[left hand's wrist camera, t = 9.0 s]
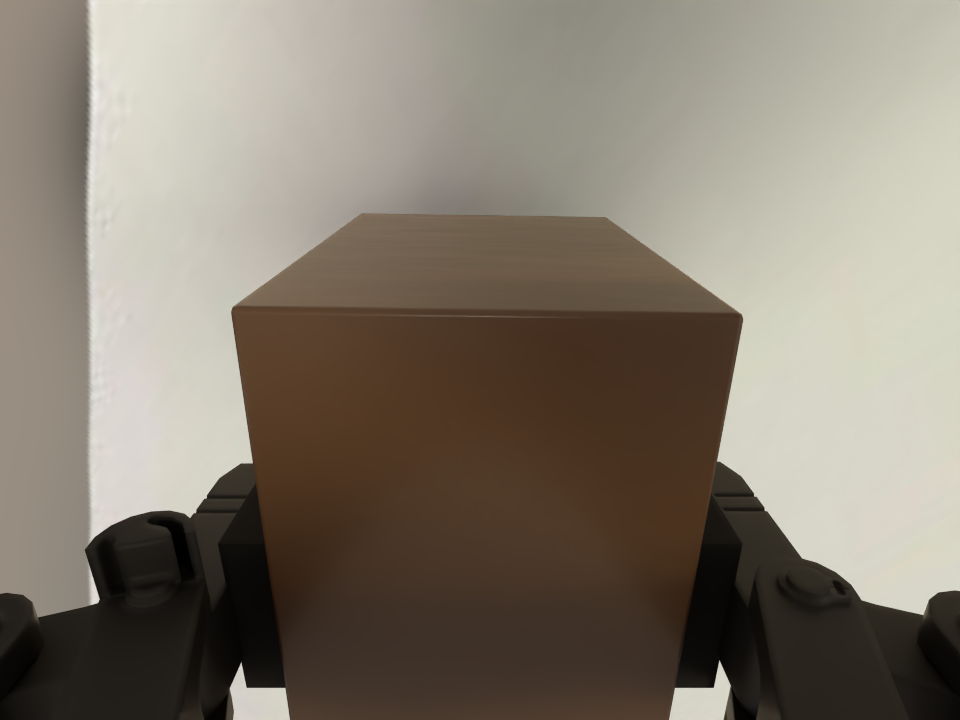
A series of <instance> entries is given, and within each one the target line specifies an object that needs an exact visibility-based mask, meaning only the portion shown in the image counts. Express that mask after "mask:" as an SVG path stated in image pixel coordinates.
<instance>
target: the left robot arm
mask: <svg viewBox="0 0 960 720" xmlns="http://www.w3.org/2000/svg"><path fill="white" fill-rule="evenodd" d="M85 552H86V555H87V559H88V562H89V565H90V568H91V572H92V575H93V578H94V582H95V585H96V588H97V591H98V595H99V598H100V600H99V602H98V603H97V604H94V605H90V606H87V607H83V608H78V609H74V610H70V611H65V612H61V613H56V614H52V615H47V616H43V617H37V614H36V611H35V608H34V606H33V603H32V602H31V601H30V600H29V599H27V598H26V597H25V596H24V595H18V594H11V593H3V594H0V720H233V714H234V710H233V703H232V697H231V693H230V686H231V684H232V682H233V680H234V677H235V675H236V673H237V671H238V668H239V666H240V664H241V662H242V667H243V671H244V676H245V681H246V686H247V688H286V687H285V680H284V674H283V667H282V660H281V653H280V646H279V639H278V632H277V625H276V618H275V611H274V604H273V597H272V591H271V584H270V577H269V570H268V563H267V556H266V549H265V542H264V535H263V528H262V521H261V514H260V508H259V501H258V494H257V487H256V480H255V473H254V466H253V464H240V465H238V466H237V467H235V468H234V469H232V470H231V471H229V472H228V473H227V474H225V475H224V476H222V477H221V478H219V480H218V481H217V482H216V484H215V485H214V487H213V488H212V489H211V491H210V492H209V493H208V495H207V499H204V500H203V502H202V503H201V504H200V506H199V507H198V508H197V512H196V513H194V514H193V515H192V517H191V518H189V517H188V516H187V515H185V514H183V513H178V512H174V511H154V512H148V513H144V514H140V515H136V516H132V517H129V518H127V519H125V520H123V521H120V522H118V523H116V524H114V525H111V526H110V527H108V528H107V529H106V530H104V531H103V532H101V533H100V534H99V535H97V536H96V537H95V538H94V539H93V540H92V541H91V543H90V544H89V545H88V547H87V548H86V549H85ZM719 660H720V662H721V664H722V667H723V669H724V671H725V673H726V676H727V678H728V680H729V682H730V685H731V688H730V692H729V697H728V702H727V706H726V711H725V716H724V720H960V591H948V592H939V593H937V594H936V595H935V596H933V597H932V598H931V599H930V600H929V602H928V604H927V607H926V610H925V613H924V615H920V614H915V613H911V612H906V611H902V610H897V609H893V608H889V607H884V606H880V605H875V604H872V603H868V602H865V601H862V600H861V599H860V597H859V596H858V594H857V593H856V591H855V590H854V588H853V587H852V585H851V584H849V583H848V582H847V581H846V580H845V579H843V578H842V577H841V576H840V575H838V574H837V573H836V572H834V571H832V570H830V569H828V568H826V567H824V566H822V565H820V564H818V563H816V562H812V561H809V560H805V559H802V558H801V557H800V555H799V554H798V552H797V551H796V550H795V548H794V547H793V546H792V544H791V543H790V542H789V540H788V539H787V538H786V536H785V535H784V534H783V532H782V531H781V529H780V528H779V527H778V525H777V524H776V523H775V521H774V520H773V519H772V517H771V516H770V515H769V513H768V512H767V511H765V510H764V507H763V505H762V504H761V502H760V501H759V500H758V498H757V497H754V493H753V492H752V490H751V489H750V488H749V486H748V485H747V484H746V482H745V481H744V479H743V478H742V477H741V476H740V475H738V474H737V473H735V472H734V471H733V470H731V469H730V468H728V467H727V466H725V465H724V464H722V463H721V462H717V463H716V469H715V474H714V479H713V485H712V490H711V496H710V501H709V506H708V512H707V517H706V523H705V528H704V533H703V539H702V544H701V549H700V555H699V560H698V566H697V571H696V576H695V582H694V587H693V593H692V598H691V603H690V609H689V614H688V619H687V625H686V630H685V636H684V641H683V646H682V652H681V657H680V663H679V668H678V673H677V679H676V684H675V688H714V684H715V679H716V674H717V669H718V664H719Z"/></svg>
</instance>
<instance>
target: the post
mask: <svg viewBox="0 0 960 720" xmlns="http://www.w3.org/2000/svg"><path fill="white" fill-rule="evenodd" d="M231 314H232V321H233V328H234V335H235V342H236V349H237V355H238V362H239V369H240V376H241V383H242V390H243V397H244V404H245V411H246V418H247V425H248V432H249V438H250V445H251V452H252V459H253V466H254V473H255V480H256V487H257V494H258V501H259V508H260V514H261V521H262V528H263V535H264V542H265V549H266V556H267V563H268V570H269V577H270V584H271V591H272V597H273V604H274V611H275V618H276V625H277V632H278V639H279V646H280V653H281V660H282V667H283V674H284V680H285V687H286V694H287V701H288V708H289V715H290V720H669V716H670V711H671V706H672V700H673V695H674V689H675V684H676V679H677V673H678V668H679V663H680V657H681V652H682V646H683V641H684V636H685V630H686V625H687V619H688V614H689V609H690V603H691V598H692V593H693V587H694V582H695V576H696V571H697V566H698V560H699V555H700V549H701V544H702V539H703V533H704V528H705V523H706V517H707V512H708V506H709V501H710V496H711V490H712V485H713V479H714V474H715V469H716V463H717V458H718V453H719V447H720V442H721V436H722V431H723V426H724V420H725V415H726V410H727V404H728V399H729V393H730V388H731V383H732V377H733V372H734V366H735V361H736V356H737V350H738V345H739V340H740V334H741V329H742V323H743V317H742V314H740V313H739V312H738V311H736V310H735V309H733V308H732V307H731V306H729V305H728V304H726V303H725V302H724V301H722V300H721V299H719V298H718V297H717V296H715V295H714V294H712V293H711V292H710V291H708V290H707V289H705V288H704V287H703V286H701V285H700V284H698V283H697V282H696V281H694V280H693V279H691V278H690V277H689V276H687V275H686V274H684V273H683V272H682V271H680V270H679V269H677V268H676V267H675V266H673V265H672V264H670V263H669V262H668V261H666V260H665V259H663V258H662V257H661V256H659V255H658V254H656V253H655V252H654V251H652V250H651V249H649V248H648V247H647V246H645V245H644V244H642V243H641V242H640V241H638V240H637V239H635V238H634V237H633V236H631V235H630V234H628V233H627V232H626V231H624V230H623V229H621V228H620V227H619V226H617V225H616V224H614V223H613V222H612V221H610V220H609V219H607V218H605V217H553V216H488V215H422V214H361V215H359V216H358V217H356V218H355V219H354V220H352V221H351V222H349V223H348V224H347V225H345V226H344V227H343V228H341V229H340V230H338V231H337V232H336V233H334V234H333V235H331V236H330V237H329V238H327V239H326V240H325V241H323V242H322V243H320V244H319V245H318V246H316V247H315V248H314V249H312V250H311V251H309V252H308V253H307V254H305V255H304V256H303V257H301V258H300V259H298V260H297V261H296V262H294V263H293V264H292V265H290V266H289V267H287V268H286V269H285V270H283V271H282V272H281V273H279V274H278V275H276V276H275V277H274V278H272V279H271V280H270V281H268V282H267V283H265V284H264V285H263V286H261V287H260V288H258V289H257V290H256V291H254V292H253V293H252V294H250V295H249V296H247V297H246V298H245V299H243V300H242V301H241V302H239V303H238V304H236V305H235V306H234V307H233V308H232V311H231Z"/></svg>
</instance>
